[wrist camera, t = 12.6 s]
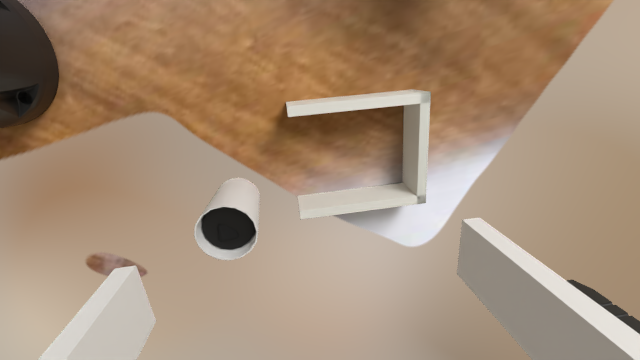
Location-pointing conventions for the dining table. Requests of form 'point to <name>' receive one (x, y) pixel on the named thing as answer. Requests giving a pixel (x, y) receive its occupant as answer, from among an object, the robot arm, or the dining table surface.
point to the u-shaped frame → (413, 154)
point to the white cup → (230, 221)
